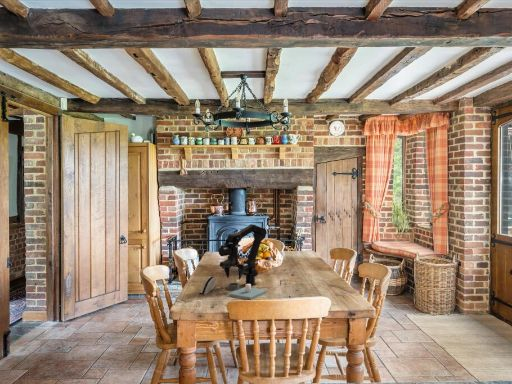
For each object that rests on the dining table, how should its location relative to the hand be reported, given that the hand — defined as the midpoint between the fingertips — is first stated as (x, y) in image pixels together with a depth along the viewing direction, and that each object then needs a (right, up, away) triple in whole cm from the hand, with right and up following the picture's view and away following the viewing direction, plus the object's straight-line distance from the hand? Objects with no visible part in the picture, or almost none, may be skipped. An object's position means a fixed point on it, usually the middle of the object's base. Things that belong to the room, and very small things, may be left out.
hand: (233, 278), depth 261 cm
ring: (0, -7, 0) cm, 7 cm away
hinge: (-16, -7, -4) cm, 18 cm away
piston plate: (+9, -7, -13) cm, 18 cm away
